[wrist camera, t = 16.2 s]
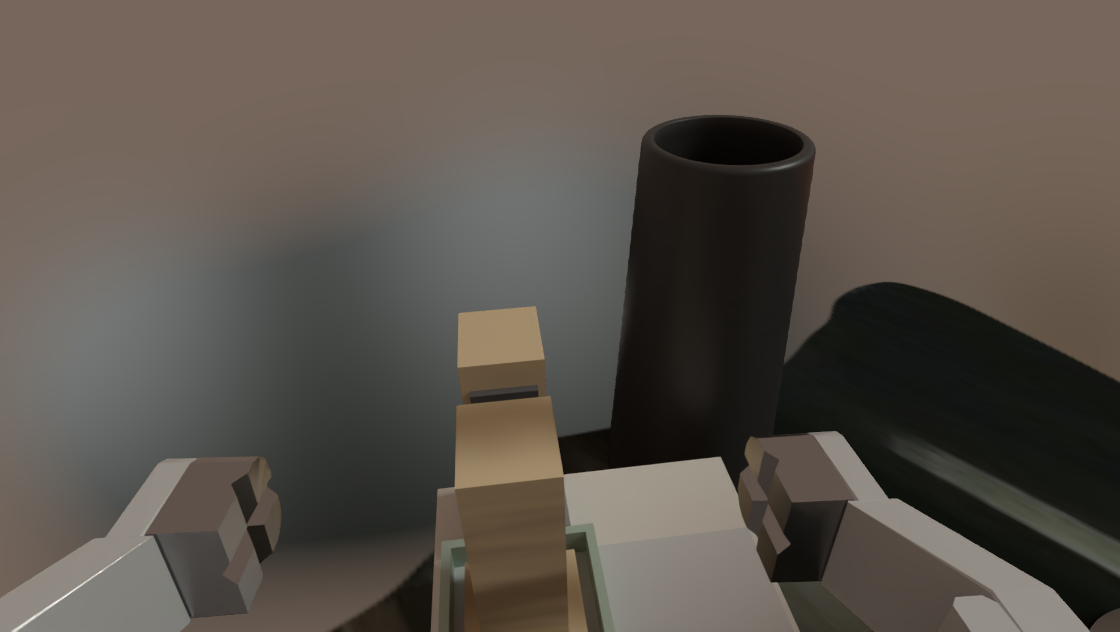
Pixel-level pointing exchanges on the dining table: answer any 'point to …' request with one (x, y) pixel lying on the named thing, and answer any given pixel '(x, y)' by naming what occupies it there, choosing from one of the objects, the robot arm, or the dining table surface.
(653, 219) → the vase
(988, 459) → the dining table surface
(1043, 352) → the dining table surface
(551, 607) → the block
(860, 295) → the dining table surface
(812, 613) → the dining table surface
